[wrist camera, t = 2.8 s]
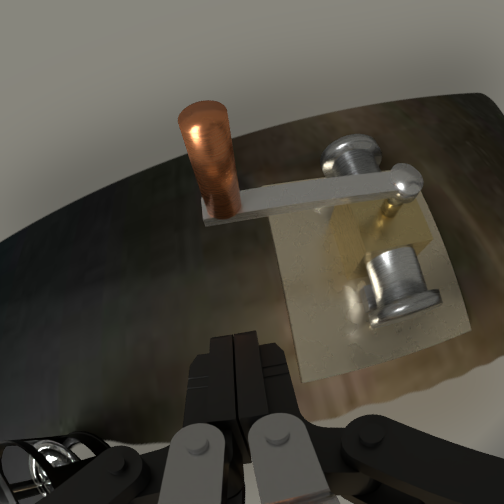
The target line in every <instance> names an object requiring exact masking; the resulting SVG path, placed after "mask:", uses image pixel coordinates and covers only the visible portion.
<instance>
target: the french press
mask: <svg viewBox="0 0 504 504" xmlns="http://www.w3.org/2000/svg"><path fill="white" fill-rule="evenodd" d="M77 442H81V443H83V444H84V445H86V446H87V447H88V448H89V449H90V450H91V451H92V452H93V453H94V454H95V455H96V456H94V457H91V458H88V459H84V460H81V459H80V458H79V457H77V455H76V454H75V453H73V452H72V451H71V450H70V449H68V448H69V447H70V446H71V445H72V444H74V443H77ZM30 444H35V445H34V446H32V445H30ZM16 445H18V446H19V447H21V448H22V449H24V450H25V451H26V452H27V453H29V454H30V455H29V468H30V473H31V476H32V480H27V481H23V482H18V483H13V484H9V483H8V481H7V479H6V477H5V476H4V473H3V470H2V463H1V459H2V454H3V451H4V449H5V448H6V446H16ZM109 448H111V447H110V446H109V445H108V444H107V443H106V442H105V441H104V440H102V439H101V438H99V437H97V436H96V435H94V434H91V433H88V432H83V431H79V432H72V433H69V434H68V435H62V436H53V437H44V438H34V439H21V440H4V441H1V442H0V504H19V502H18V500H21V499H25V498H28V497H32V496H35V495H39V494H41V495H42V496H43V497H45V496H46V495H48V494H49V493H51V492H52V491H53V490H55V489H56V488H57V487H59V486H60V485H61V484H63V483H64V482H65V481H67V480H68V479H69V478H71V477H72V476H73V475H74V474H76V473H77V472H78V471H80V470H81V469H82V468H83V467H85V466H86V465H87V464H89V463H90V462H91V461H92V460H94V459H95V458H96V457H97V456H99V455H100V454H101V453H102V452H104V451H105V450H107V449H109Z"/></svg>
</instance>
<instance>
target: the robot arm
mask: <svg viewBox="0 0 504 504" xmlns="http://www.w3.org/2000/svg"><path fill="white" fill-rule="evenodd" d="M187 388H188V390H187V395H186V404H185V413H184V422H183V428H182V429H181V430H179V431H178V432H177V433H176V434H175V435H174V437H173V438H172V440H171V443H170V445H169V446H167V447H165V448H162V449H160V450H156V451H152V452H149V453H145V454H142V455H139V453H138V452H137V451H136V450H134V449H133V448H130V447H127V446H114V447H111V448H109V449H107V450H105V451H104V452H102V453H101V454H100V455H99V456H97V457H96V458H95V459H94V460H92V461H91V462H90V463H89V464H87V465H86V466H85V467H83V468H82V469H81V470H80V471H78V472H77V473H76V474H74V475H73V476H72V477H71V478H69V479H68V480H67V481H65V482H64V483H63V484H61V485H60V486H59V487H57V488H56V489H55V490H53V491H52V492H51V493H49V494H48V495H46V496H45V497H44V498H42V499H41V500H40V501H38V502H37V503H35V504H245V482H244V470H243V464H247V463H252V462H253V467H254V472H255V476H256V481H257V486H258V490H259V495H260V499H261V504H340V502H339V500H338V498H337V497H336V495H341V496H342V497H343V498H344V499H346V500H348V501H350V502H352V503H354V504H504V459H503V458H500V457H496V456H493V455H489V454H486V453H482V452H479V451H476V450H473V449H470V448H467V447H464V446H461V445H458V444H455V443H452V442H449V441H446V440H444V439H441V438H438V437H435V436H432V435H430V434H427V433H425V432H422V431H419V430H417V429H414V428H412V427H409V426H407V425H404V424H402V423H399V422H397V421H394V420H392V419H390V418H387V417H384V416H381V415H373V414H372V415H365V416H361V417H359V418H356V419H354V420H353V421H351V422H350V423H349V424H348V425H347V426H346V428H327V427H320V426H316V425H313V424H311V423H310V422H308V421H307V420H305V419H304V417H303V416H302V415H301V413H300V411H299V408H298V404H297V400H296V396H295V392H294V389H293V385H292V381H291V377H290V374H289V370H288V366H287V362H286V358H285V354H284V351H283V350H282V349H281V348H280V347H279V346H278V345H277V344H276V343H270V344H264V345H259V343H258V338H257V333H256V331H250V332H244V333H238V334H234V336H233V335H227V336H220V337H214V338H211V339H210V353H208V354H201V355H197V356H196V358H195V359H194V361H193V362H192V364H191V365H190V370H189V380H188V386H187ZM251 457H252V461H251Z"/></svg>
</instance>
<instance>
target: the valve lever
mask: <svg viewBox="0 0 504 504" xmlns="http://www.w3.org/2000/svg"><path fill="white" fill-rule="evenodd" d="M178 124H179V127H180V130H181V133H182V136H183V139H184V142H185V146H186V149H187V152H188V155H189V158H190V161H191V164H192V167H193V170H194V173H195V176H196V179H197V182H198V185H199V188H200V191H201V194H202V197H203V198H201V202H202V213H203V220H204V223H205V226H206V227H207V226H213V225H218V224H224V223H230V222H236V221H241V220H247V219H253V218H259V217H265V216H271V215H278V214H284V213H290V212H296V211H303V210H309V209H316V208H323V207H329V206H336V205H343V204H350V203H357V202H365V201H372V200H379V199H387V198H393V199H394V200H396V201H397V202H400V203H405V204H406V203H411V202H412V201H414V199H415V198H416V196H417V195H418V193H419V192H420V190H421V189H422V187H423V178H422V176H421V174H420V173H419V171H418V170H417V169H415V168H414V167H413V166H411V165H409V164H405V163H398V164H395V165H394V166H393V167H392V169H391V171H388V172H378V173H368V174H358V175H349V176H340V177H332V178H324V179H316V180H308V181H301V182H294V183H287V184H280V185H273V186H267V187H261V188H254V189H248V190H242V191H239V185H238V179H237V172H236V166H235V159H234V153H233V146H232V140H231V134H230V127H229V120H228V114H227V109H226V107H225V106H224V105H223V104H221V103H219V102H216V101H209V100H208V101H200V102H196V103H193V104H191V105H189V106H188V107H186V108H185V109H184V110H183V111H182V112H181V113H180V115H179V117H178Z"/></svg>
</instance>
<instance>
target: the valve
mask: <svg viewBox="0 0 504 504" xmlns="http://www.w3.org/2000/svg"><path fill="white" fill-rule="evenodd" d="M381 160H382V152H381V150H380V148H379V146H378V144H377V142H376V141H375V140H374V139H373V138H372V137H370V136H368V135H364V134H353V135H348V136H344V137H342V138H339V139H338V140H336V141H334V142H333V143H331V144H330V145H329V146H328V147H327V148H326V149H325V150H324V152H323V153H322V155H321V159H320V165H321V167H322V170H323V173H324V175H325V177H323V178H315V179H307V180H300V181H293V182H286V183H279V184H272V185H266V186H262V187H267V186H273V185H280V184H287V183H294V182H301V181H308V180H316V179H324V178H332V177H340V176H349V175H358V174H368V173H378V172H388V171H391V170H388V171H381V169H380V167H379V164H380V162H381ZM267 218H268V223H269V227H270V232H271V236H272V241H273V246H274V250H275V255H276V260H277V265H278V269H279V274H280V279H281V284H282V289H283V294H284V298H285V303H286V308H287V313H288V318H289V323H290V328H291V333H292V339H293V344H294V349H295V354H296V359H297V364H298V370H299V375H300V380H301V383H305V382H310V381H314V380H319V379H323V378H327V377H331V376H336V375H340V374H344V373H347V372H351V371H355V370H359V369H362V368H366V367H369V366H373V365H376V364H380V363H383V362H386V361H389V360H393V359H396V358H399V357H402V356H405V355H408V354H411V353H414V352H417V351H419V350H422V349H425V348H428V347H431V346H433V345H436V344H439V343H441V342H444V341H446V340H449V339H451V338H454V337H456V336H459V335H461V334H464V333H466V332H468V331H471V327H470V323H469V319H468V315H467V312H466V308H465V305H464V301H463V298H462V295H461V291H460V288H459V285H458V282H457V279H456V276H455V273H454V270H453V267H452V264H451V262H450V259H449V256H448V254H447V251H446V248H445V246H444V243H443V241H442V238H441V236H440V233H439V231H438V228H437V226H436V224H435V221H434V219H433V217H432V214H431V212H430V210H429V208H428V205H427V203H426V201H425V199H424V197H423V195H422V193H421V191H420V192H419V193H418V195H417V196H416V198H415V199H414V201H412V202H411V203H406V204H405V203H400V202H397V201H396V200H394V199H393V198H387V199H379V200H372V201H365V202H357V203H350V204H343V205H336V206H329V207H323V208H316V209H309V210H303V211H296V212H290V213H284V214H278V215H271V216H267Z"/></svg>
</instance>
